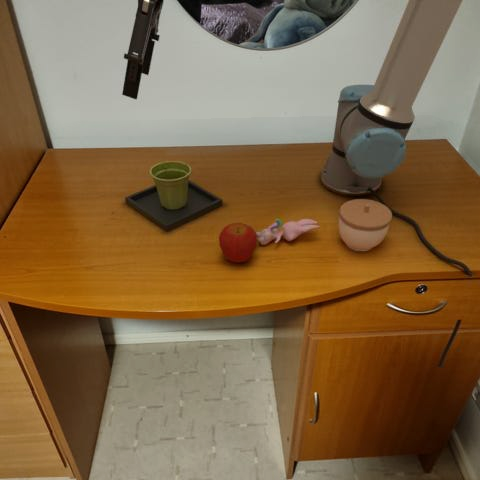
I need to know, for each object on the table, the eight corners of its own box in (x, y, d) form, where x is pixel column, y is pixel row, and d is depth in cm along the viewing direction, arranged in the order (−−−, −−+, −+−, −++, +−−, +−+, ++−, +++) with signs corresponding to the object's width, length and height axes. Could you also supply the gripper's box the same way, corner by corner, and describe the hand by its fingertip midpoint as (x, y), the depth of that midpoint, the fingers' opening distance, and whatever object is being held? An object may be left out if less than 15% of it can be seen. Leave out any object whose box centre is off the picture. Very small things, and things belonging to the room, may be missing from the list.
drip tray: (222, 205, 116) (222, 199, 114) (167, 232, 107) (166, 226, 106) (180, 180, 124) (179, 174, 123) (125, 203, 116) (124, 197, 115)
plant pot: (155, 194, 119) (150, 161, 113) (193, 192, 119) (190, 159, 113) (153, 215, 112) (148, 180, 106) (194, 213, 113) (191, 179, 107)
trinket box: (384, 260, 100) (395, 222, 94) (332, 254, 102) (339, 216, 95) (384, 232, 108) (393, 194, 101) (336, 226, 109) (342, 189, 103)
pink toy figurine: (256, 256, 103) (323, 239, 104) (252, 234, 99) (322, 216, 99) (250, 240, 108) (314, 223, 108) (246, 218, 103) (313, 200, 104)
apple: (255, 246, 104) (256, 215, 98) (257, 269, 98) (258, 237, 93) (219, 247, 104) (218, 215, 98) (219, 270, 98) (218, 238, 92)
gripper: (148, -61, 89) (129, 57, 104) (121, -38, 72) (102, 100, 86) (187, -45, 91) (163, 69, 105) (171, -18, 73) (144, 115, 87)
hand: (136, 84), depth 96 cm, fingers open, 13 cm apart
